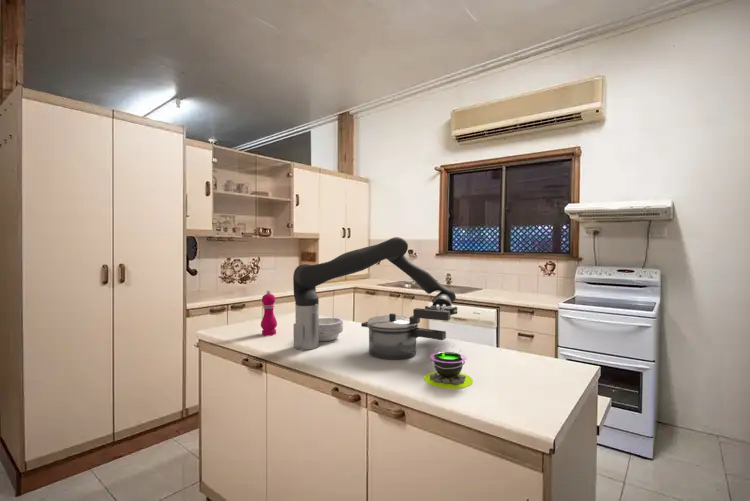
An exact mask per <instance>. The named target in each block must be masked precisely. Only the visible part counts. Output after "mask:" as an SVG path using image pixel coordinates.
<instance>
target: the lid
mask: <svg viewBox="0 0 750 501" xmlns="http://www.w3.org/2000/svg"><path fill="white" fill-rule="evenodd" d="M412 314H413V315H410V316H406V315H397V314H396V313H389V315H378V316H374V317H369V318H368V319H367V322H368V325H370V326H372V327H376V328H383V329H404V328H410V327H414V326H416V325H417V324H418V325H419V323H421V319H425V320H435V321H445V322H448V321H450V320H451V315H450V311H445V310H433V309H425V308H419V307H418V308H417V307H415V308H414V309H413V313H412Z"/></svg>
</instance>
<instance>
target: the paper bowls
mask: <svg viewBox="0 0 750 501" xmlns="http://www.w3.org/2000/svg"><path fill="white" fill-rule="evenodd" d="M343 322H344V321H343V319H341V318H339V317H319V342H328V341H329V342H330V341H333V340H337V338H338V337H339V335H340V334H341V333H342V332H343V331H344V328H343V327H344V326H343V325H344V323H343Z"/></svg>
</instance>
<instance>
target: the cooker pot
mask: <svg viewBox="0 0 750 501" xmlns="http://www.w3.org/2000/svg"><path fill="white" fill-rule="evenodd" d="M360 327H362V328H368V350H369V351H368V353H369V355H370V356H371V357H373V358H375V359H380V360H388V361H399V360H400V361H401V360H408V359H411V358H413V357H415V356H416V355H417V338H424V339H425V338H426V339H432V340H437V341H444V340H446V338H447V332H446V330H439V329H438V330H437V329H430V328H422V327H419V323H418V324H417V325H416V326H414V327H410V328H404V329H383V328H376V327H372V326H370V325H368V321H365V322H361V326H360Z"/></svg>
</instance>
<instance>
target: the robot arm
mask: <svg viewBox="0 0 750 501" xmlns="http://www.w3.org/2000/svg"><path fill="white" fill-rule="evenodd" d="M408 248H409V243H408V241H406V239H404V238H402V237H400V236H399V237H398V236H395V237H391V238H390V239H387V240H384V241H381V242H380V243H377V244H374V245H369V246H365V247H362V248H358V249H355V250H351V251H347V252H344V253H343V254H340V255H338V256H336V257H335V258H333V259H330V260H329V261H326V262H321V263H315V264H307V263H302V264H299V265H297V266H296V268H295V269H294V272H293V279H292V281H293V285H292V286H293V297H294V300H295V303H294V304H295V308H294V309H295V323H293V348H295V349H297V350H301V351H304V350H313V349H317V348H319V347H320V341H319V318H320V317H319V313H320V312H319V308H320V307H319V304H320V303H319V300H320V299H319V296H318V294H317V289H316V287H317V286H320V285H322V284H324V283H327V282H328V281H331V280H333V279H337V278H342V277H345V276H348V275H351V274H355V273H358V272H363V271H364V270H366V269H368V268H371V267H372V266H374V265H376V264H377V263H379V262H381V261H384V260H387V261H389V262H390V263H391V264H393V265H394V266H396V267H397V268H398V269H400V270H401V271H403V273H405V274H406V275H407V276H408V277H409V278H410V279H412V280H413V281H414V282H415V283H416V284H417V285H418V286H419V287H420V288H421V289H422V290H423V291H424V292H425V293H426V294H428V295H430V294H432V293H434V292H436V291H439V292H438V293H437V294H436V295H435V296H434V297H433V298H432V301H431V302H432V305H431V306H428V305H425V306H424V309H433V310H445V311H450V316H453V315H457V314H458V307H457V306H454V307H453V306H452V304H453V303H454V302H455V300H456V298H457V296H456V293H455V292H454V291H453V290H452V289H451V288H449V287H447V286H445V285H443V284H442V283H441V282H439V281H438V280H436V278H434V277H433V276H432V274H431V273H429V272H428V271H427V270H425V268H422V267H421V266H419V265H417V264H415V263H413V262H412V261H411V260H409V259H408V258H407V257H406V256H405V254H407V251H408Z"/></svg>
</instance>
